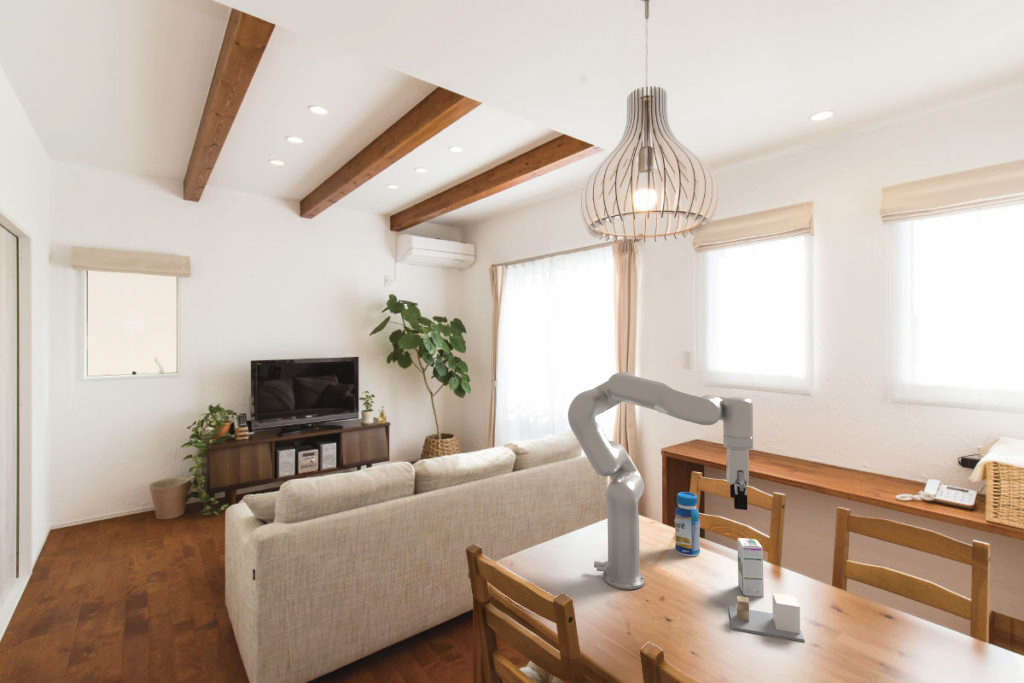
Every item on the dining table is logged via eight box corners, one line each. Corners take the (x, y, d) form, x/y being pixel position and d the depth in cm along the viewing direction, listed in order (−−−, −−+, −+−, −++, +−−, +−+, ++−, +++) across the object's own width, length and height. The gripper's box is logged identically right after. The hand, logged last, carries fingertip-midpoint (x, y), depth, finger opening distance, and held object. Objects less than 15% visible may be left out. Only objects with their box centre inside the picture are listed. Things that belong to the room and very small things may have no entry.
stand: (732, 629, 121) (732, 626, 121) (728, 608, 130) (728, 606, 130) (804, 641, 116) (804, 639, 116) (794, 619, 125) (794, 617, 125)
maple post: (738, 620, 124) (738, 601, 124) (737, 614, 126) (736, 596, 126) (749, 622, 123) (749, 602, 123) (747, 616, 126) (747, 597, 126)
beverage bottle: (704, 557, 162) (703, 498, 162) (679, 557, 162) (679, 498, 162) (695, 546, 170) (694, 490, 170) (671, 546, 170) (671, 491, 170)
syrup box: (764, 597, 136) (764, 546, 136) (742, 595, 137) (741, 545, 137) (758, 587, 142) (758, 538, 142) (737, 585, 143) (736, 537, 143)
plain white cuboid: (776, 629, 120) (776, 603, 120) (772, 617, 125) (772, 592, 125) (800, 633, 118) (799, 606, 118) (795, 621, 123) (795, 596, 123)
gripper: (720, 435, 142) (721, 492, 142) (726, 447, 126) (726, 512, 126) (748, 437, 139) (749, 495, 139) (758, 449, 123) (758, 515, 123)
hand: (738, 503), depth 132 cm, fingers open, 9 cm apart
